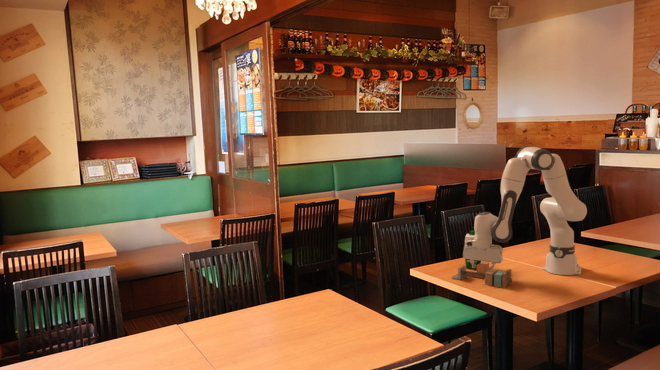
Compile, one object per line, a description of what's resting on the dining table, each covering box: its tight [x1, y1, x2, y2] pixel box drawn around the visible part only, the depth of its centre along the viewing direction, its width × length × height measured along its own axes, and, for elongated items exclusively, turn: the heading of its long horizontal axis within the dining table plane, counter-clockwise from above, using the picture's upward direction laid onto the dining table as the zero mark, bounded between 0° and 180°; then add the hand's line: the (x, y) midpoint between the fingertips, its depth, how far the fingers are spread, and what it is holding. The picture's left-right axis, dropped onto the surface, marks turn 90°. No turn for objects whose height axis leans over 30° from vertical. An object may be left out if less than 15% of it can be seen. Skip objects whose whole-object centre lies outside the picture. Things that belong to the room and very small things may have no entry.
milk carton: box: [464, 230, 482, 270], centre depth 281 cm, size 9×9×20 cm
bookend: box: [451, 264, 467, 281], centre depth 263 cm, size 8×5×6 cm, turn 142°
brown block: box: [484, 268, 499, 286], centre depth 253 cm, size 8×4×6 cm, turn 141°
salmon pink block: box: [476, 261, 490, 274], centre depth 267 cm, size 8×4×6 cm, turn 142°
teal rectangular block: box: [493, 270, 506, 288], centre depth 250 cm, size 8×4×6 cm, turn 141°
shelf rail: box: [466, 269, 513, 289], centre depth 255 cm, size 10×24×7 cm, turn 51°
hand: (482, 269), depth 266 cm, fingers open, 8 cm apart
